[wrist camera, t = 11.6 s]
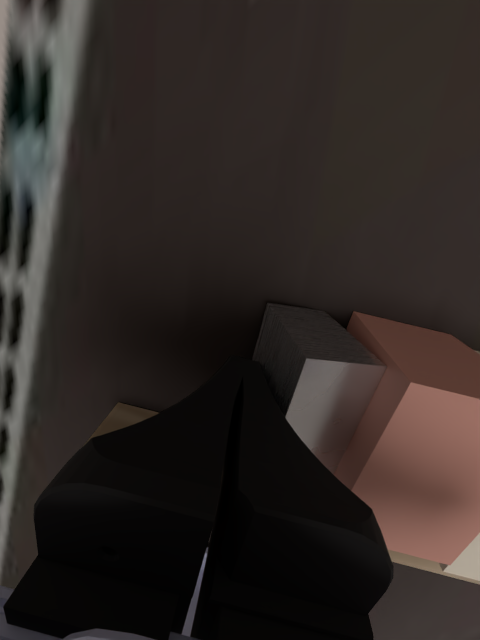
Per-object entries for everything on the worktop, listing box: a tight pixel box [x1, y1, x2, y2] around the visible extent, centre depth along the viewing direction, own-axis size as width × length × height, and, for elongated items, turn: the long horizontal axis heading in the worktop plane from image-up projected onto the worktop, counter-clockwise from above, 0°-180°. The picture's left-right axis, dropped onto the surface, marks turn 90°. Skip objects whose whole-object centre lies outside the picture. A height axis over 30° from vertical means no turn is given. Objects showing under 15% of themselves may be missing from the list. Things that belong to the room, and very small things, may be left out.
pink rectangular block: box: [334, 311, 480, 565], centre depth 10 cm, size 6×4×5 cm, turn 168°
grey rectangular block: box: [252, 303, 387, 475], centre depth 10 cm, size 6×2×4 cm, turn 168°
